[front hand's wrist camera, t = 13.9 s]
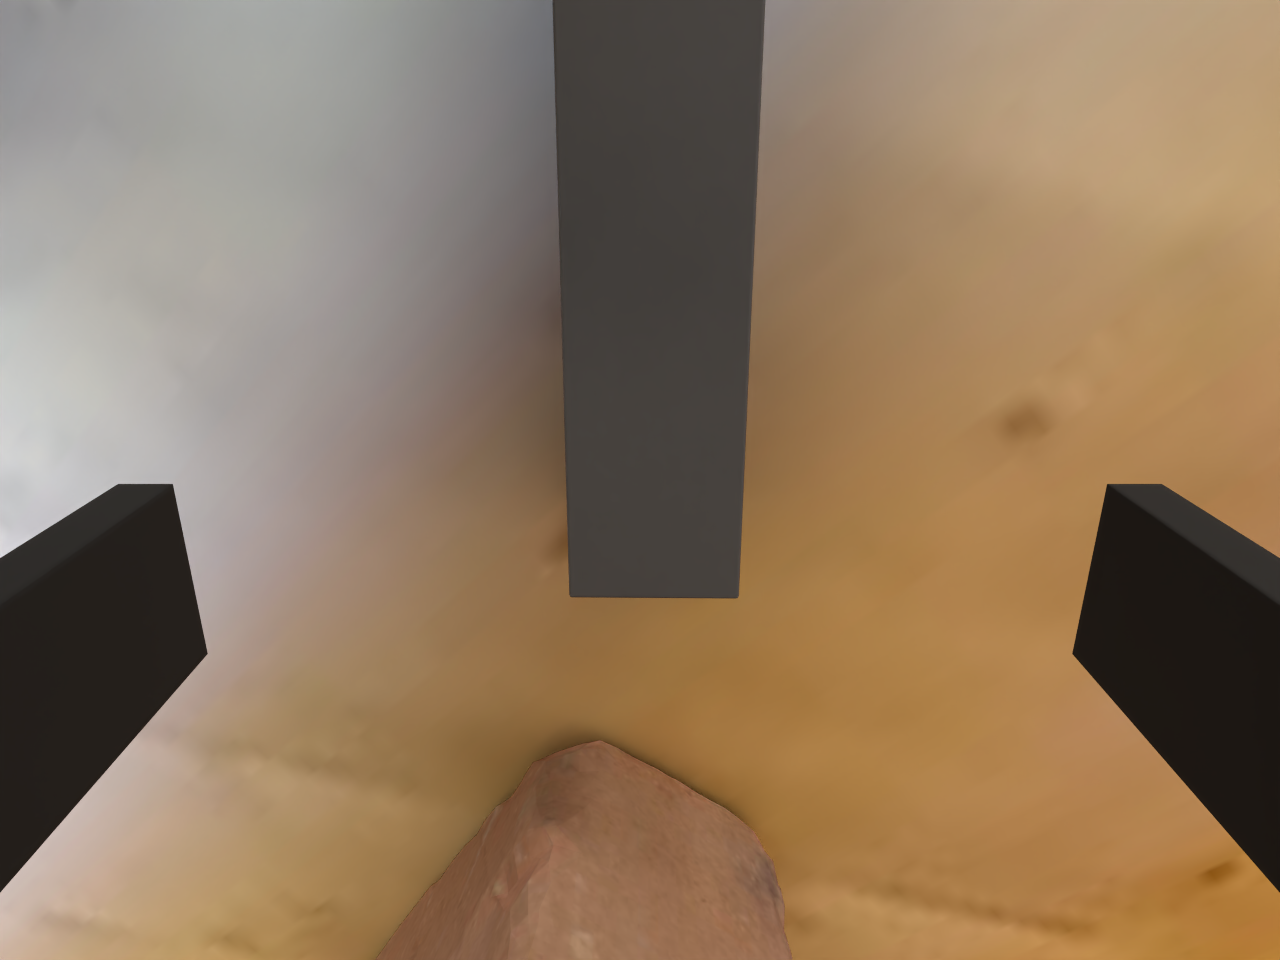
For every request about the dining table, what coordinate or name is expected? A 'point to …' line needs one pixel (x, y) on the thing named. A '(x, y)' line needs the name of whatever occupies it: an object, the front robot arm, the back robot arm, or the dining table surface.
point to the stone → (601, 874)
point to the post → (656, 287)
